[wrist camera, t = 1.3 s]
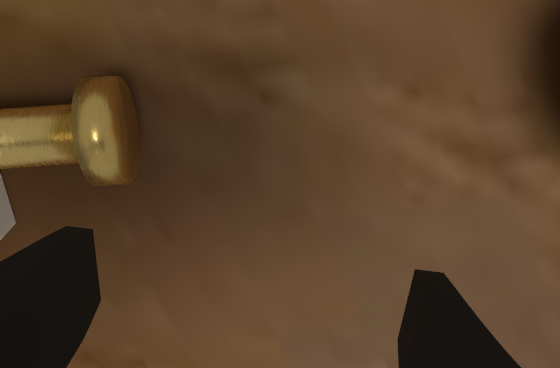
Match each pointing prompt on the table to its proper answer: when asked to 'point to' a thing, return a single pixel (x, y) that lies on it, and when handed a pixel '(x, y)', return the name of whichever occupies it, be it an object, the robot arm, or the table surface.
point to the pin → (77, 133)
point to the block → (5, 211)
